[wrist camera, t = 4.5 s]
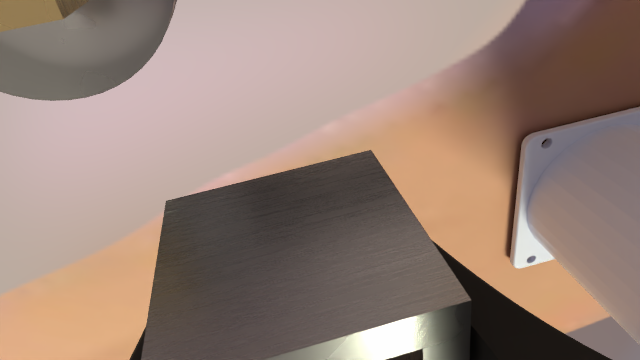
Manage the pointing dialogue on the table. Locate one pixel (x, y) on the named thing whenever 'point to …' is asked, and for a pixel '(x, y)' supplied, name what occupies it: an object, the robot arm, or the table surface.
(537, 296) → the table surface
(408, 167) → the table surface
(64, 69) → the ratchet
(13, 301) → the table surface
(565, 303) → the table surface
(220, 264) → the hollow square tube
